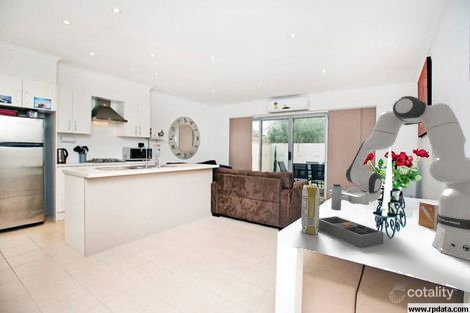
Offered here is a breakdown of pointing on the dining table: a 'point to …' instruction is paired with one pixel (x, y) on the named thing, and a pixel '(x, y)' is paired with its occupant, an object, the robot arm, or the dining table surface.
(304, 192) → the juice carton
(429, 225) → the small box
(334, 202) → the grey plug
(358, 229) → the twin plug
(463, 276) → the dining table surface
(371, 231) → the grey compartment tray
